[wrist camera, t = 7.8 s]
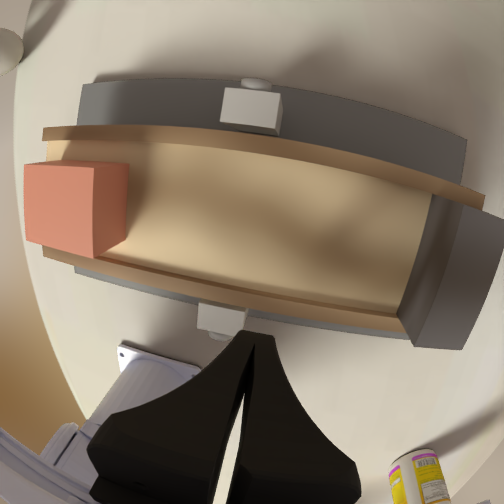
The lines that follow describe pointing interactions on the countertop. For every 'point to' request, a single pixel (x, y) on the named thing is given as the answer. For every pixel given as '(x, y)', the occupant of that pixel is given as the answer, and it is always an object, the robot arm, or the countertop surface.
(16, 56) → the donut
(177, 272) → the beam
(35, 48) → the countertop surface
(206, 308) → the tilt stand
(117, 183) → the block
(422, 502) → the supplement bottle
